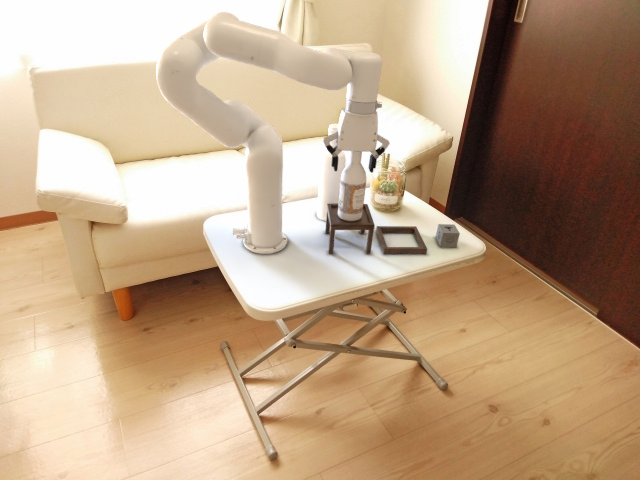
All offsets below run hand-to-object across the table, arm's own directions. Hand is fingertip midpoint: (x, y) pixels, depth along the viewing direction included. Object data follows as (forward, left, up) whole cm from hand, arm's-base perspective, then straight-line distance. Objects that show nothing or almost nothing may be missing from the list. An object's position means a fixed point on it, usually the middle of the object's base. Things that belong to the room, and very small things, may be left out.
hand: (353, 169), depth 121 cm
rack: (+8, 0, -23) cm, 25 cm away
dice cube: (+30, 0, -24) cm, 38 cm away
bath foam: (0, 0, -15) cm, 15 cm away
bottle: (-4, +16, -24) cm, 29 cm away
